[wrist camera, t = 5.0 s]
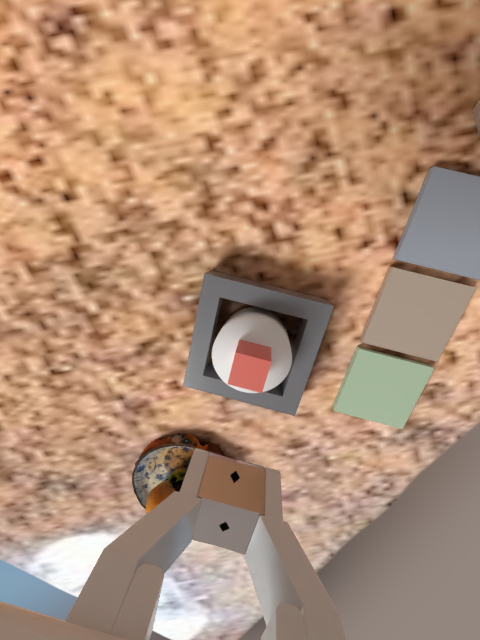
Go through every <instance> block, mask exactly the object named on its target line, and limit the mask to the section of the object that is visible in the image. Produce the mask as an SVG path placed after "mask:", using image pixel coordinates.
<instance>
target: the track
mask: <svg viewBox="0 0 480 640" xmlns="http://www.w3.org/2000/svg"><path fill="white" fill-rule="evenodd" d="M393 259H395V260H399V261H403V262H407V263H411V264H415V265H419V266H423V267H427V268H431V269H435V270H440V271H444V272H448V273H452V274H456V275H460V276H464V277H468V278H472V279H477V280H480V177H479V176H475V175H470V174H466V173H462V172H457V171H453V170H449V169H444V168H440V167H436V166H434V167H432V168H430V169H429V170H428V173H427V175H426V178H425V180H424V183H423V185H422V188H421V190H420V193H419V195H418V197H417V200H416V202H415V205H414V207H413V210H412V212H411V215H410V217H409V220H408V222H407V224H406V227H405V229H404V232H403V234H402V237H401V239H400V242H399V244H398V247H397V249H396V252H395V254H394V256H393ZM475 289H476V287H471V286H467V285H463V284H459V283H455V282H451V281H447V280H443V279H439V278H435V277H431V276H427V275H423V274H419V273H414V272H410V271H406V270H402V269H398V268H394V267H389V269H388V271H387V274H386V276H385V279H384V281H383V284H382V286H381V288H380V291H379V293H378V296H377V298H376V301H375V303H374V306H373V308H372V311H371V313H370V315H369V318H368V320H367V323H366V325H365V328H364V330H363V333H362V335H361V338H360V341H361V342H362V343H366V344H370V345H374V346H378V347H382V348H386V349H389V350H393V351H397V352H401V353H405V354H409V355H413V356H417V357H421V358H425V359H428V360H432V361H436V362H438V360H439V358H440V356H441V354H442V353H443V351H444V349H445V347H446V345H447V343H448V341H449V339H450V337H451V335H452V333H453V331H454V330H455V328H456V326H457V324H458V322H459V320H460V318H461V316H462V314H463V312H464V310H465V308H466V307H467V305H468V303H469V301H470V299H471V297H472V295H473V293H474V291H475ZM433 370H434V368H433V367H432V366H431V365H428V364H424V363H421V362H417V361H413V360H409V359H405V358H401V357H397V356H393V355H389V354H386V353H382V352H378V351H374V350H370V349H366V348H362V347H358V346H357V347H356V350H355V352H354V355H353V357H352V360H351V362H350V365H349V367H348V370H347V372H346V374H345V377H344V379H343V382H342V384H341V387H340V389H339V392H338V394H337V397H336V399H335V402H334V404H333V406H332V407H333V410H334V411H336V412H340V413H344V414H348V415H351V416H355V417H359V418H363V419H366V420H370V421H374V422H378V423H381V424H385V425H389V426H393V427H396V428H400V429H403V427H404V425H405V423H406V421H407V420H408V418H409V416H410V414H411V412H412V410H413V408H414V406H415V404H416V402H417V400H418V399H419V397H420V395H421V393H422V391H423V389H424V387H425V385H426V383H427V381H428V379H429V377H430V376H431V374H432V372H433Z"/></svg>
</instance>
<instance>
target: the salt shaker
mask: <svg viewBox="0 0 480 640" xmlns="http://www.w3.org/2000/svg"><path fill="white" fill-rule="evenodd" d="M472 111H473V115H474V119H475V123H476V127H477V131H478V135H479V138H480V99H479V100H478V102H477V104H476V105H475V107H474V108H473V110H472Z"/></svg>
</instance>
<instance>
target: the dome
mask: <svg viewBox="0 0 480 640" xmlns="http://www.w3.org/2000/svg"><path fill="white" fill-rule="evenodd" d="M212 362H213V366H214V368H215V371H216V372H217V374H218V376H219V377H220V378H221V379H222V380H223V381H224V382H225V383H226V384H227V385H229V386H230V387H232V388H234V389H236V390H238V391H241V392H246V393H262V392H265V391H268V390H271V389H273V388H274V387H276V386H277V385H279V384H280V383H281V382H282V381H283V380H284V379H285V377H286V376H287V374H288V373H289V370H290V368H291V364H292V352H291V347H290V342H289V337H288V333H287V330H286V327H285V325H284V324H283V322H282V321H281V320H280V319H279V317H277V316H276V315H275V314H274V313H272V312H270V311H268V310H265V309H262V308H255V307H252V308H245V309H242V310H239V311H237V312H235V313H234V314H232V315H231V316H230V317H229V318H228V319H227V320H226V322H225V323H224V325H223V327H222V329H221V330H220V332H219V334H218V336H217V338H216V339H215V342H214V344H213V348H212Z"/></svg>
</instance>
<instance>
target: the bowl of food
mask: <svg viewBox="0 0 480 640" xmlns="http://www.w3.org/2000/svg"><path fill="white" fill-rule="evenodd" d="M209 441H210V440H209ZM196 448H197V449H201V450H204V451H208V452H209V453H210V452H212V453H215V454H218V455H222V456H225V457H226V450H225V451H223V452H222V451H221V449H220V445H218V446H217V445H216V444H212V443H209V444H208V445H205V446H204V447H203V446H202V445H200V444H199V441H198V440H197V438H196V437H195V436H194V435H191V434H185V435H182V434H180V433H179V434H177V435H175V436H174V437H173V436H172V437H169V436H168V437H167V438H165V439H162V440H159V438H158V439H156V440H155V441H153V442H151V443H150V444H149V445H148V446H147V448H146V449H144V451H143V452H142V454H141V456H140V457H139V460H138V461H137V462H136V463H135V468H134V471H133V474H132V484H133V488H134V492H135V494H136V496H137V499H138V501H139V502H140V504H141V505H142V506H143V507H144V508H145V509H146V514H147V513H149V512H150V511H151V510H152V509H154V508H155V507H156V506H157V505H158V504H160V503H161V502H162V501H163V500H165V499H166V498H167V497H168V496H169V495H171V494H172V493H173V492H174V491H177V492H180V489H181V486H182V483H183V481H184V478H185V475H186V472H187V469H188V466H189V464H190V461H191V458H192V455H193V452H194V450H195V449H196Z"/></svg>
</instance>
